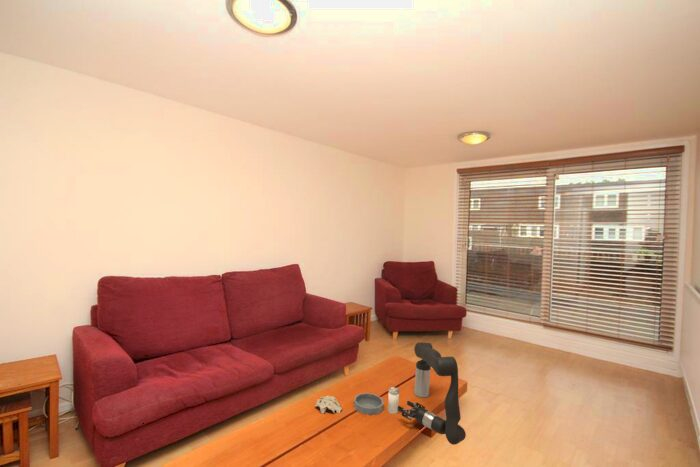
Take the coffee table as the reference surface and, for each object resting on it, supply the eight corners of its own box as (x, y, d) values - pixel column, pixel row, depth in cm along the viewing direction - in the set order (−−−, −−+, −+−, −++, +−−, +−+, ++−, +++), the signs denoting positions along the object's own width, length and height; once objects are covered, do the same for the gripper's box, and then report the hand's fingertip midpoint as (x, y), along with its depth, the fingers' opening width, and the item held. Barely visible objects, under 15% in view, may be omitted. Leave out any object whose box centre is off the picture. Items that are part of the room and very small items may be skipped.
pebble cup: (390, 406, 195) (392, 383, 195) (400, 410, 191) (401, 387, 191) (385, 410, 190) (386, 387, 190) (394, 415, 186) (396, 391, 186)
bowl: (364, 395, 206) (365, 390, 206) (388, 406, 195) (388, 400, 195) (348, 406, 192) (348, 400, 192) (372, 418, 182) (372, 412, 182)
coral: (343, 411, 187) (343, 402, 187) (325, 417, 180) (325, 408, 180) (329, 399, 200) (329, 390, 199) (311, 404, 192) (311, 396, 192)
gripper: (435, 407, 178) (410, 394, 190) (419, 416, 169) (395, 402, 181) (434, 420, 179) (410, 407, 190) (418, 430, 169) (394, 415, 181)
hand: (402, 405), depth 186 cm, fingers open, 8 cm apart
